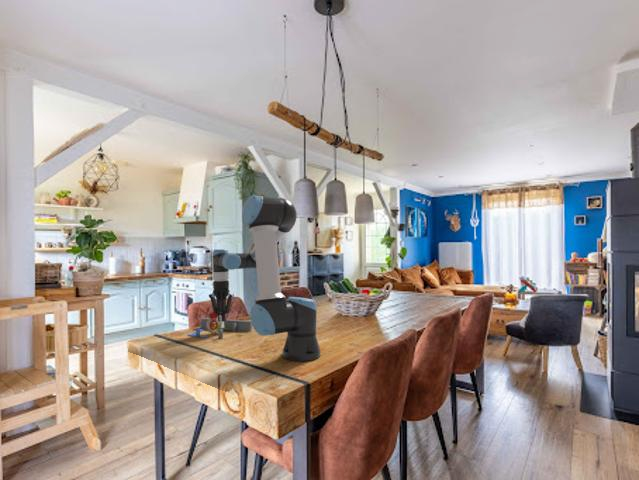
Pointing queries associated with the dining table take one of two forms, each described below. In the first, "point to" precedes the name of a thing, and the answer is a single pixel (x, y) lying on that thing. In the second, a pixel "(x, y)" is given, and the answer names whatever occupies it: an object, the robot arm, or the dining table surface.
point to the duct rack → (229, 325)
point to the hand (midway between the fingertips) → (221, 327)
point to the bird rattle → (212, 326)
